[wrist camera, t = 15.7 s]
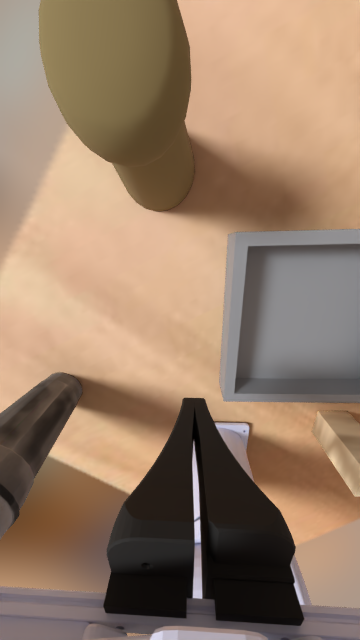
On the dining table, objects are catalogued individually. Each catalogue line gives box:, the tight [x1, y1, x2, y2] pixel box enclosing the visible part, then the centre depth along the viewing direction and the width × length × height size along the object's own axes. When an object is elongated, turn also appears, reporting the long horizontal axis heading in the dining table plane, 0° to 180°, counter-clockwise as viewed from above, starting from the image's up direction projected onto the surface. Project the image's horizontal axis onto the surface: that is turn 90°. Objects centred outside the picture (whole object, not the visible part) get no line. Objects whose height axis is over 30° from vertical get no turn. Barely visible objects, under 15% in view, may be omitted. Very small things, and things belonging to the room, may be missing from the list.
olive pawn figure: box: [39, 0, 195, 211], centre depth 11 cm, size 6×6×11 cm
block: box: [312, 411, 360, 497], centre depth 21 cm, size 4×4×7 cm
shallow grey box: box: [219, 229, 360, 403], centre depth 18 cm, size 16×22×3 cm
